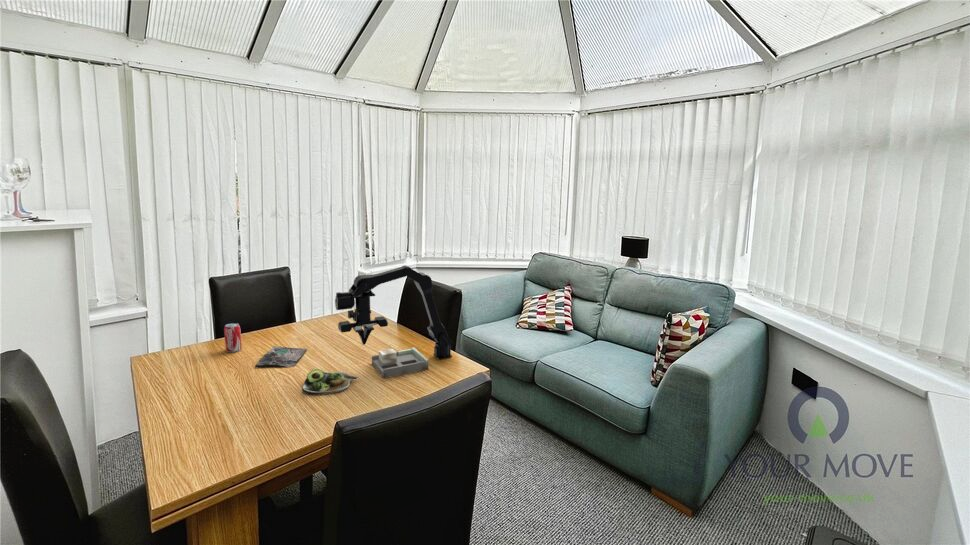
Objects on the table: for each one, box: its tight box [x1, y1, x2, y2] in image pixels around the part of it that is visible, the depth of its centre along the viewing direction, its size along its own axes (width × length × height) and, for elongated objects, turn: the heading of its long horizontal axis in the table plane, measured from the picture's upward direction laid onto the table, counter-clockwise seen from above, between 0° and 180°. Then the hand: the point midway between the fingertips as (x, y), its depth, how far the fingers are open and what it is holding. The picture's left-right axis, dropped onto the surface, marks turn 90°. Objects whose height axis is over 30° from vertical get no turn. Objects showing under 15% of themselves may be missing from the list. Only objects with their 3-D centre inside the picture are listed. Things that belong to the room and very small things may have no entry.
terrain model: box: [255, 345, 308, 368], centre depth 188 cm, size 20×15×3 cm
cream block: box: [378, 348, 397, 364], centre depth 184 cm, size 6×5×4 cm
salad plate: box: [302, 368, 358, 396], centre depth 166 cm, size 19×18×5 cm
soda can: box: [223, 322, 243, 353], centre depth 193 cm, size 6×6×12 cm
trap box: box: [371, 347, 429, 379], centre depth 183 cm, size 19×16×4 cm
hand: (363, 344), depth 177 cm, fingers closed
